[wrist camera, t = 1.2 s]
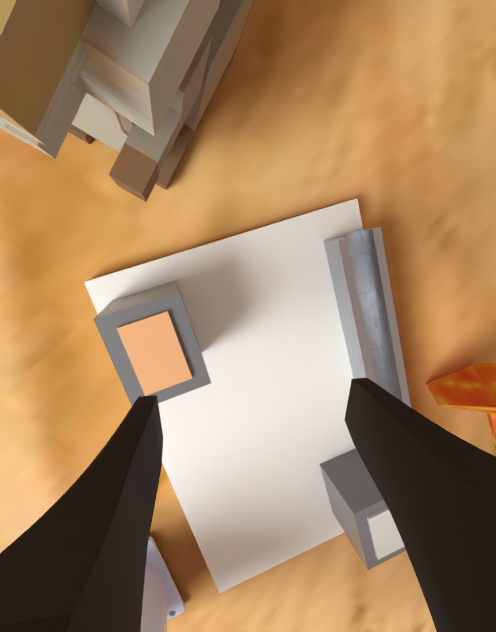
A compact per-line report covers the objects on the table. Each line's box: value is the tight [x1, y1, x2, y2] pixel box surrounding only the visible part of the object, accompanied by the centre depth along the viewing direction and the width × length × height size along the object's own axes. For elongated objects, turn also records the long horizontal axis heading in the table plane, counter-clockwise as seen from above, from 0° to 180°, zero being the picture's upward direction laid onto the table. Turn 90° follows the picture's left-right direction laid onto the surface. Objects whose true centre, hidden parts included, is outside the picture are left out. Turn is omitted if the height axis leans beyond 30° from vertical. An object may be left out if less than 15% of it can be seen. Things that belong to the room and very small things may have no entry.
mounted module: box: [320, 448, 406, 570], centre depth 24 cm, size 4×5×5 cm
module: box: [94, 280, 211, 406], centre depth 18 cm, size 4×5×5 cm
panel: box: [84, 198, 363, 593], centre depth 25 cm, size 18×26×1 cm
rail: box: [323, 227, 411, 407], centre depth 24 cm, size 3×22×2 cm, turn 16°
